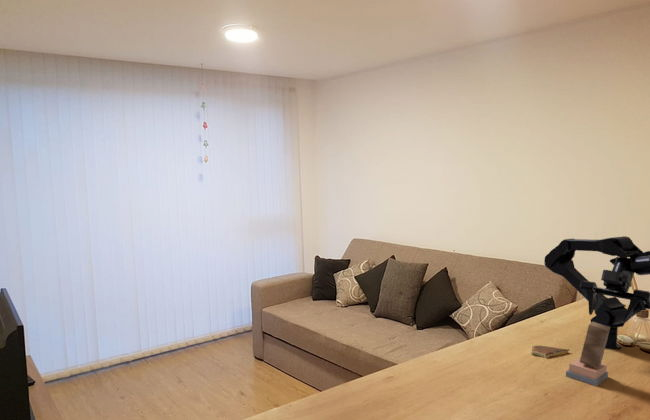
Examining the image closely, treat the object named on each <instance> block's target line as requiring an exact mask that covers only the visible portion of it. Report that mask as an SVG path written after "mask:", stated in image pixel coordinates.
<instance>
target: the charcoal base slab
mask: <svg viewBox="0 0 650 420" xmlns="http://www.w3.org/2000/svg"><path fill="white" fill-rule="evenodd" d="M565 377H566V378H569V379H573V380H576V381H578V382H582V383H586V384H589V385H590V386H591V385H592V386H595V387H598V386H600V385H601V384H602V383H603V382H604V381H605V380H606V379H608V378H609V371H606V373H605V374H603V375H602V376H601V377H599V378H598V379H597V380H595V379H592V378H588V377H585V376H582V375H579V374H576V373H573V372H570V371H569V369H567V370H566V371H565Z"/></svg>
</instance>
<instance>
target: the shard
mask: <svg viewBox="0 0 650 420" xmlns="http://www.w3.org/2000/svg"><path fill="white" fill-rule="evenodd" d="M569 351H570V349H567V348H560V347H559V348H558V347H553V346H549V345H548V346H546V345H537V344H532V345H531V355H535V356H539V357H541V358H543V359H549V358H551V357H555V356H561V355H565V354H568V353H569ZM550 356H551V357H550Z"/></svg>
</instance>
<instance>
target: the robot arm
mask: <svg viewBox="0 0 650 420" xmlns="http://www.w3.org/2000/svg"><path fill="white" fill-rule="evenodd" d="M576 251H577V252H578V251H579V252H580V251H581V252H584V251H585V252H598V253H601V254H603V255H606V256H607V255H609V256H611V257H614V258H611V259H609V262H610V264H612V265H613V267H612V269H611V270H609V269H603V270H602V274H601V278H600V280H601V281H603V284H602V285H603V286H604V287H605V288H604V287H599V286H598V285H597V283H596V282H595V281H589V279H587V278H586V277H585V276H584V275H583V274H582V273H581V272H580V271H579V270H578V269H576V267H575V263H574V261H573V259H574V258H575V254H576ZM543 265H545V268H547V269H548V270H549V271H551V272H552V273H553V274H556V275H557V276H558V275H559V276H561V277H563V278H564V279H565V280H566V281H567V283H569V284H570V285H571V286H572V287H573V288H574V290H576V291H577V292H579V293H580V295H581V296H583V298H584V299H585V300H587V302H588V314H589V316H592V314H593V313H594V314H595V316H593V317H592V318H590V323H591V322H592V321H593V322H596V323H599V324H602V325H605V326H608V327H610V331H609V335H608V339H607V343H606V346H605V349H622V346H621V345H620V344H619V343H618V329H619V328H623V327H624V325H625V323H627V322H628V321H629V320H630V319H631V318H633V317H634V316H635V315H637V314H639V313H640V312H641V311H646V310H650V291H649V290H641V289H634V290H633V292H632V293H631V292H629V290H630V288H632V286H633V284H632V281H633V278H634V276H635V274H636V275H638V276H646V275H648V276H649V275H650V250H647V251H642V250H641V249H640V248H639V247H638V246H637V245H636V244H635V243H634V242H633V240H632V238H630V237H629V236H626V235H625V236H614V237H607V238H601V239H585V238H584V239H580V238H579V239H577V238H576V239H575V238H564V239H563V240H561V241H560V242H559V244H558V245H556V246H555V247H554V248H553V249H551V250H550V251H549V252H548V253H547V254H546V255H545V256H544V263H543ZM607 296H609V297H607ZM619 299H624V300H629V305H628V307H627V306H626V304H624V303H622V302H621V301H620V300H619ZM626 307H627V308H626Z"/></svg>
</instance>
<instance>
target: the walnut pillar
mask: <svg viewBox="0 0 650 420" xmlns="http://www.w3.org/2000/svg"><path fill="white" fill-rule="evenodd" d="M609 331H610V327H608V326H605V325H602V324H599V323H596V322H593V321H592V322H591V321H590V323H589V324H588V328H587V331H586V336H585V339H584V344H583V347H582V351H581V354H580V357H581V358H580V362H581V363H583V364H586V365H589V366H591V367H594V368H596V369H598V368H599V366H600V365H601V363H602V362H603V361H602V360H603V358H604V353H605V350H606V348H605V346H606V343H607V339H608V335H609Z"/></svg>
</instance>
